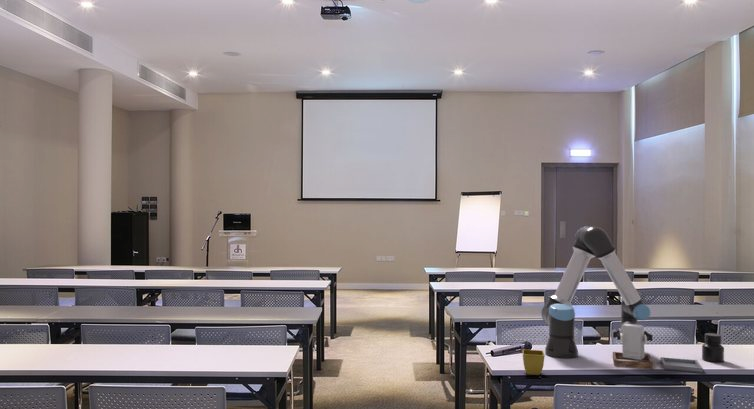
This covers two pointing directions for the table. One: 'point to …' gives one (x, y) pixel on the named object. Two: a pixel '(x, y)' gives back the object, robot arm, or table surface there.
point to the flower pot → (533, 361)
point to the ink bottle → (713, 348)
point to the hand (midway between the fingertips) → (633, 339)
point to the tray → (681, 365)
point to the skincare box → (633, 341)
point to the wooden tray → (632, 363)
